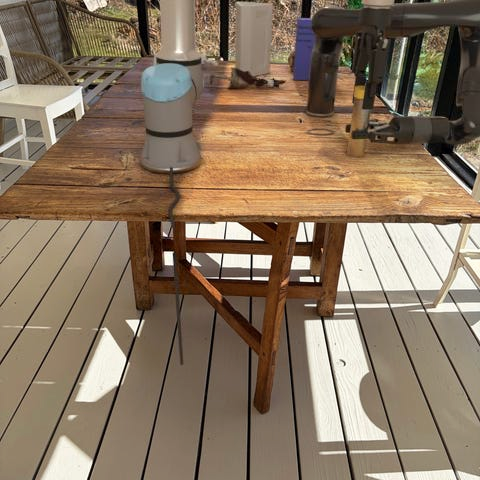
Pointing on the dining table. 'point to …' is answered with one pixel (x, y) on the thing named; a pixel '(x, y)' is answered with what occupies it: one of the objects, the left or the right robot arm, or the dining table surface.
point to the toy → (203, 60)
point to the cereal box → (303, 49)
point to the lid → (359, 92)
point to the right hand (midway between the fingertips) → (349, 131)
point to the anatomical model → (291, 60)
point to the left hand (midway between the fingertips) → (362, 105)
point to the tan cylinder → (358, 128)
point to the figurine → (246, 79)
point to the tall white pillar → (253, 37)
